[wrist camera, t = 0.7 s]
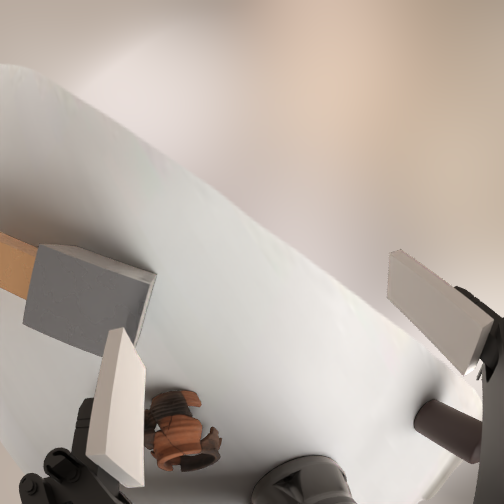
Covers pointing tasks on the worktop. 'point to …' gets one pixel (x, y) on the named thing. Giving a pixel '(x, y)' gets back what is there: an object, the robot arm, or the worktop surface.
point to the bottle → (451, 430)
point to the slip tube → (16, 265)
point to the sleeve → (85, 297)
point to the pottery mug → (178, 433)
